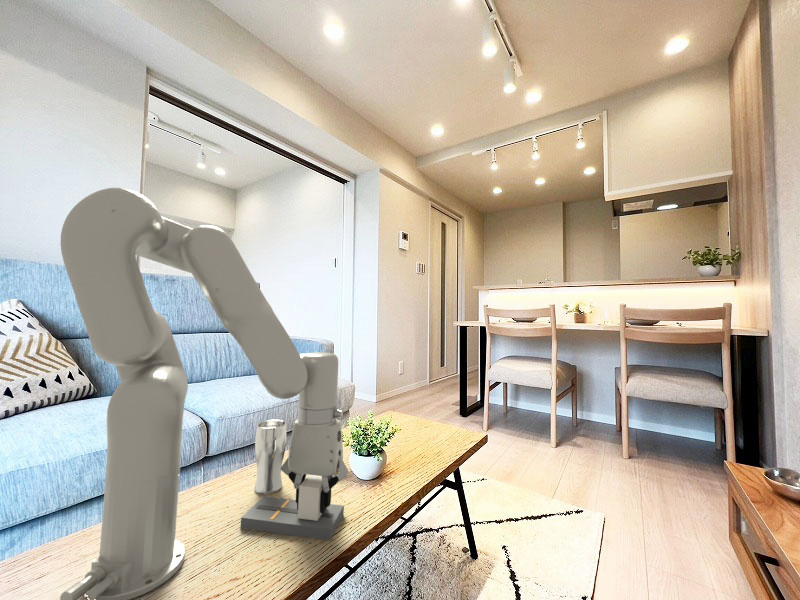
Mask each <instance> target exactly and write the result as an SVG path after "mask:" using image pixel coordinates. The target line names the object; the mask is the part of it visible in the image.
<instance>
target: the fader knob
mask: <svg viewBox="0 0 800 600" xmlns="http://www.w3.org/2000/svg"><path fill="white" fill-rule="evenodd" d="M322 490H323V484H322V476H317V475H307V476H306V479H305V480H304V482H303V483H302V484H301V485H300V486H299V502H298V518H300V519H307V520H315V521H318V519H319V518H320V516H321V515H322V513H320V496H321V492H322Z"/></svg>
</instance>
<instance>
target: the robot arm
mask: <svg viewBox="0 0 800 600" xmlns="http://www.w3.org/2000/svg"><path fill="white" fill-rule="evenodd" d="M60 250H61V251H60V252H61V256H62V260H63V264H64V268H65V271H66V273H67V276H68V279H69V281H70V285H71V287H72V290H73V292H74V296H75V300H76V304H77V306H78V309H79V312H80V314H81V317H82V321H83V323H84V325H85V329H86V332H87V335H88V338H89V342H90V345H91V347H92V349H93V351H94V353H95V354H96V355H97V357H99V358H100V359H101V360H102V361H104V362H106V363H107V364H111V365H113V366H115V368H116V370H117V374H118V377H119V379H120V381H121V383H120V384H119V385H117V387H116V388H115V390H114V392H113V394H112V395H111V397H110V400H109V402H108V406H107V411H106V438H107V441H106V442H107V444H106V445H107V448H106V464H105V465H106V466H105V480H104V481H105V482H104V483H105V485H104V495H103V509H102V519H101V520H102V522H101V533H100V543H99V545H100V547H99V556H97V557H96V558H94V559H93V560H91V566H90V567H91V569H90V570H89V571H88V572H87V573H86V574H85V576H84V578H83V579H81V580H80V581H78V582H76V583H75V584H73V585H72V586H71V587H69V588H68V589H66V590H65V591H63V592H62V593H61V595H60V598H59V599H60V600H79V599H81V598H82V597H84V594H86V595H88V598H89V599H90V600H94V599H96V600H132V598H133V599H135V598H138V597H140V596H143V595H144V594H147V593H149V592H152V591H153V590H155V589H156V588H158V587H159V586H162V584H164V583H166V582H167V581H168V580H170V578H172V576H175V574H176V573H177V572H178V571H179V570H180V569H181V568H182V565H183V564H184V561H185V557H186V556H185V555H186V548H185V545H184V544H183V543H182V542H181V541H179V540H178V539H176V530H177V529H176V528H177V517H178V503H179V501H178V500H179V488H180V487H179V486H180V476H181V473H180V471H181V455H182V440H183V420H184V411H185V403H186V398H187V394H188V390H189V389H188V386H189V384H188V383H189V382H188V378H187V374H186V370H185V368H184V366H183V362H182V359H181V356H180V353H179V350H178V347H177V345H176V341H175V339H174V335H173V333H172V329H171V327H170V325H169V323H168V321H167V320H166V318H165V317H164V316H163V315H162V314H161V313H160V312H158V311H156V310H155V309H154V307H153V305H152V302H151V299H150V297H149V294H148V291H147V288H146V286H145V281H144V277H143V275H142V273H141V269H140V268H139V265H138V260H137V257H136V256H138V257H141V258H143V259H147V260H150V261H153V262H156V263H158V264H162V265H165V266H169V267H171V268H174V269H176V270H180V271H184V272H186V273H190V274H191V275H192V276H193V279H195V282H196V283H197V285H198V286H199V289H201V291H202V292H203V294H204V295H205V297H206V299H207V301H208V302H209V305H210V306H211V307H212V309H213V311H214V313H215V314H216V316H217V318H218V319H219V321H220V322H221V324H222V325H223V327H224V328H225V329H226V331H228V333H229V334H230V335H231V336H232V337H233V339H234V340H235V341H236V342H237V344H238V345H239V348H241V350H242V351H243V353H244V355H245V356H246V358H247V360H248V361H249V363H250V365H251V366H252V368H253V369H254V371H255V373H256V374H257V377H258V380H259V381H260V383H261V384H262V385H263V387H264V389H265V390H266V392H267V393H268V394H269V395H271V396H272V397H274V398H275V399H280V400H281V399H282V400H287V399H292V398H294V397H296V396H298V406H297V407H298V408H297V409H298V410H297V419H296V420H295V421H294V424H293V428H292V432H291V435H290V442H289V448H288V457H287V458H286V459H285V462H283V463H282V467H281V472H283V474H285V475H286V476H288V479H289V480H290V481H291V482H292V483H293V488H294V489H295V500H296V503H297V510H298V502H299V486H300V485H301V484H302V483H303V482H304V480H305V479H306V478H307V476H309V475H317V476H322V484H323V490H322V492H321V496H320V513H324V511H325V510H326V508H327V507H329V506H330V504H332V503H331V502H332V488H334V487H335V485H337V484H338V483H339V482H342V481H344V480H345V479H346V478H348V476H349V474H350V471H349V469H348V468H347V466H346V464H345V462H344V460H343V457H344V455H343V454H344V453H343V451H344V449H343V445H344V444H343V433H342V431H343V430H342V425H341V420H340V419H339V418H343V415H344V411H343V410H340V409H339V407H338V405H337V404H338V402H337V401H338V385H339V384H338V383H339V358H338V356H337V355H336V354H335V353H332V352H323V351H322V352H321V351H319V352H318V351H317V352H308V353H299V351H298V350H297V347H296V345H295V344H294V343H293V340H292V339H291V337H290V335H289V334H288V332H287V331H286V329H285V327H284V325H283V324H282V322H281V321H280V320H279V318H278V316H277V315H276V313H275V311H274V310H273V308H272V306H271V304H270V303H269V301H268V300H267V298H266V297H265V295H264V293H263V292H262V290H261V289H260V287H259V285H258V283H257V281H256V280H255V278H254V276H253V274H252V273H251V271H250V269H249V267H248V266H247V264H246V262H245V261H244V259H243V257H242V255H241V254H240V251H239V250H238V248H237V246H236V244H235V243H234V241H233V239H232V238H231V236H230V235H228V233H227V232H225V231H224V230H223V229H221V228H220V227H217V226H214V225H208V224H207V225H205V224H203V225H199V226H195V227H189V226H186V225H183V224H181V223H179V222H175V221H174V220H172V219H170V218H169V219H168V218H167V217H164V216H162V214H161V212H160V211H159V209H158V208H157V206H156V205H155V204H154V203H153V202H152V201H151V200H150V199H149V198H147V197H146V196H144V195H143V194H141V193H139V192H138V191H135V190H132V189H129V188H125V187H109V188H104V189H99V190H96V191H95V192H93V193H90V194H88V195H87V196H85V197H84V198H83V199H81V200H80V201H79V202H77V203H76V204H75V205H74V206H73V208H71V210H70V211H69V213H68V214H67V215H66V217H65V219H64V222H63V224H62V228H61V231H60ZM336 468H337V469H336ZM337 471H338V473H337Z"/></svg>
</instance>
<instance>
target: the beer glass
mask: <svg viewBox="0 0 800 600" xmlns="http://www.w3.org/2000/svg"><path fill="white" fill-rule="evenodd" d="M254 441H255V443H254V453H255V461H256V470H257V475H256V481H255V486H254V491H255V493H257V494H259V495H270V494H271V495H272V494H274V493H277V492H279V491H280V490H281V489H282V487H283V481H282V470H281V467H282V465H283V463H284V462H283V461H284V457H285V453H286V446H287V422H286V421H285V420H282V419H269V420H264V421H261V422H258V423H257V425H256V432H255V440H254Z"/></svg>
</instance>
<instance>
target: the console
mask: <svg viewBox="0 0 800 600" xmlns="http://www.w3.org/2000/svg"><path fill="white" fill-rule="evenodd" d="M344 511H345V506H344V505H341V504H334V503H333V504H332V503H330V506H329V507H327V508H326V510H325V511H324V513H322V515H321V516H320V518H319V519H318V521H315V520H307V519H300V518H298V510H297V503H296V499H293V498H292V499H291V498H284V497H275V496H268V495H267V496H266V495H263V496H262V497H261V498H259V500H258V501H257V502H255V504H254V505H253V506H252V507H250V509H248V510H247V511H246V512H245V513H244V514H243V515H242V516H241V517H240V529H241V530H242V529H243V530H250V531H257V532H258V531H259V532H264V533H265V532H266V533H272V534H280V535H285V536H294V537H301V538H309V539H316V540H324V541H331V540H332V537H333V536H334V534H335V532H336V530H337V529H338V527H339V525H340V523H341V521H342V519H343V517H344V513H345V512H344Z"/></svg>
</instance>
